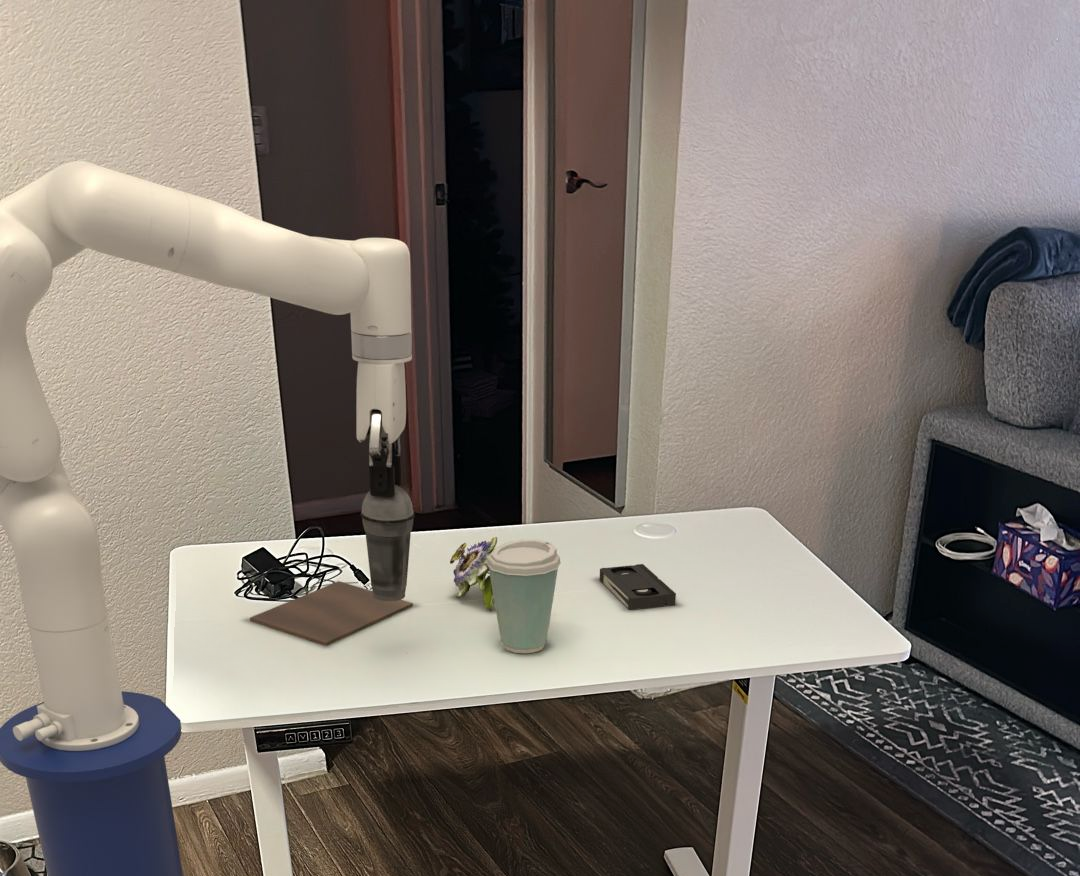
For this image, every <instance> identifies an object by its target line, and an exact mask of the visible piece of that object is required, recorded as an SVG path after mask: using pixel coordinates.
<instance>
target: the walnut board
mask: <svg viewBox="0 0 1080 876" xmlns="http://www.w3.org/2000/svg"><path fill="white" fill-rule="evenodd" d="M413 606H414V603H413V602H411V601H407V600H404V599H401V600H398V601H381V600H377V599H375V598H374V597H373V591H372V590H370V589H366V588H363V587H359V586H356V585H353V584H349V583H346V582H343V581H339V580H338V581H335V582H333V583H331V584H328V585H326V586H324V587H321V588H319V589H316V590H314V591H311V592H309V593H306V594H304V595H302V596H299V597H297V598H295V599H292V600H290V601H288V602H285V603H282V604H280V605H278V606H275V607H273V608H270V609H268V610H265V611H262V612H261V613H258V614H256V615H253V616H251V617H249V621H250V622H253V623H255V624H258V625H261V626H264V627H268V628H271V629H273V630H274V629H275V630H277V631H281V632H283V633H286V634H288V635H292V636H295V637H298V638H301V639H304V640H307V641H310V642H313V643H316V644H319V645H323V646H325V647H326V646H329V645H331V644H333V643H335V642H338V641H340V640H342V639H345V638H346V637H349V636H350V635H351V636H352V635H353V634H355V633H357V632H359V631H361V630H363V629H366V628H368V627H370V626H372V625H375V624H377V623H379V622H381V621H383V620H386V619H387V618H390V617H392V616H394V615H397V614H398V613H401V612H403V611H405V610H408V609H410V608H412V607H413Z"/></svg>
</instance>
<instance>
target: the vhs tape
mask: <svg viewBox="0 0 1080 876" xmlns="http://www.w3.org/2000/svg"><path fill="white" fill-rule="evenodd" d="M598 580H599V581H600V583H602V585H603V586H605V588H606V589H608V590H609V592H610V593H612V595H613V596H615V597H616V598H617V600H619V601H620V602H621V604H623V605H624V607H626V608H627V609H628V610H630V611H632V610H639V609H640V610H643V609H652V608H662V607H670V606H671V607H672V606H676V597H677V593H676V591H674V590H673V589H672V588H671V587H670V586H669V585H667V584H666V583H665V582H664V581H663V580H662V579H660V578H659V577H658V576H657V575H656V573H653V571H652V570H651V569H649V568H648V567H647V566H646V565H644V563H638V564H634V565H632V564H631V565H622V566H621V565H620V566H612V567H611V566H609V567H602V568H600V569H599V579H598Z"/></svg>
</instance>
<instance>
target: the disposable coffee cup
mask: <svg viewBox="0 0 1080 876" xmlns="http://www.w3.org/2000/svg"><path fill="white" fill-rule="evenodd" d="M557 551H558V550H557V547H556V546H555V545H554V544H553V543H551V542H550V541H546V540H542V539H537V538H535V539H519V540H514V541H508V542H505V543H502V544H501V545H498V546H495V548H494V550H493V551H492V553H491V554H490V555H489V557H488V558H487V565H488V567H489V571H488V572H489V573H490V574H489V575H490V579H491V585H492V591H493V596H494V607H495V615H496V619H497V625H498V631H499V637H500V638H499V639H500V642H501V643H502V646H503V648H504V649H505V650H506V651H508V652H511V653H515V654H532V653H537V652H539V651H541V650H543V649H544V647H545V646H546V643H547V641H548V635H549V628H550V621H551V616H552V611H553V610H552V608H553V603H554V598H555V597H554V596H555V590H556V583H557V577H558V572H559V571H558V569H559V567H560V565H561V556H560V555H559V554H558V552H557Z"/></svg>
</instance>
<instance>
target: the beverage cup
mask: <svg viewBox="0 0 1080 876" xmlns="http://www.w3.org/2000/svg"><path fill="white" fill-rule="evenodd" d="M384 450H385V452H386V449H384ZM415 516H416V515H415V511H414V505H413V501H412V500H411V497H410V495H409V494H408V492H407V491H405V490H404V489H403V488H402V487H401V486H397V485H395V495H394V496H393V497H380V496H372V495H371V494H370V490H368V492H367V493H366V494H365V496H364V498H363V501H362V505H361V511H360V517H361V518H362V525H363V531H364V532H365V541H366V550H367V558H368V569H369V577H370V586H371V591H373V597H374V598H375V599H377V600H381V601H398V600H404V598H405V597H406V590H407V584H408V573H409V560H410V559H409V558H410V546H411V534H412V530H413V527H414V518H415Z"/></svg>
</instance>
